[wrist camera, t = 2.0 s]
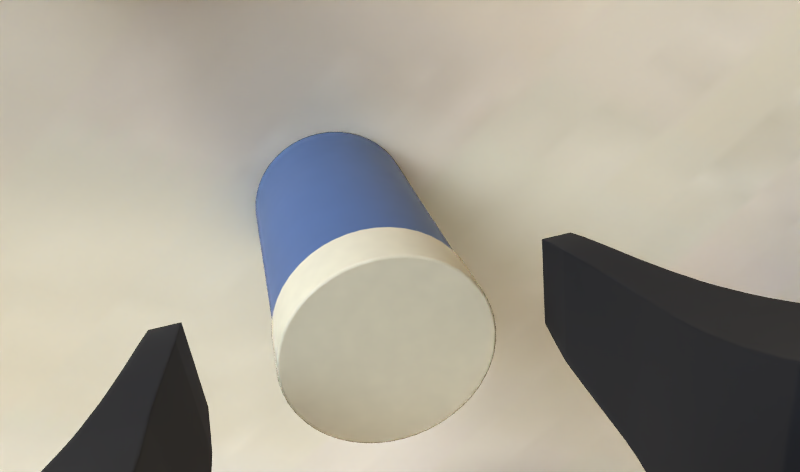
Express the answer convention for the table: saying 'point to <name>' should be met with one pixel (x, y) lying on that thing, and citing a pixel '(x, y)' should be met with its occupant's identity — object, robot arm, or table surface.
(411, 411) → the glue stick
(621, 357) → the robot arm
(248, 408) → the table surface
